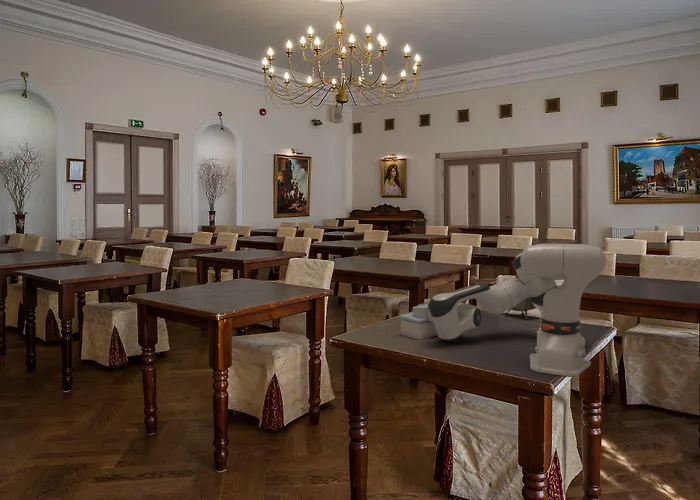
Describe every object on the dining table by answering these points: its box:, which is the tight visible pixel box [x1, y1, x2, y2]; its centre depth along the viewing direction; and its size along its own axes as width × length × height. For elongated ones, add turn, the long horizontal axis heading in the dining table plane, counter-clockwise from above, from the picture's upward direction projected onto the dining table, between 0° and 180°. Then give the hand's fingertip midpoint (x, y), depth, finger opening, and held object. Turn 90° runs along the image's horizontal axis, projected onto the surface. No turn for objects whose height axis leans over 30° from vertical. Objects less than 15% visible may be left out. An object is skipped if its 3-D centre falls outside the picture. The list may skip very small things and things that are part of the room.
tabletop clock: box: [502, 273, 537, 320], centre depth 242 cm, size 14×9×25 cm, turn 36°
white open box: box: [400, 319, 438, 340], centre depth 217 cm, size 10×24×6 cm, turn 131°
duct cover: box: [398, 311, 429, 323], centre depth 217 cm, size 11×25×1 cm, turn 132°
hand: (420, 306), depth 222 cm, fingers closed
